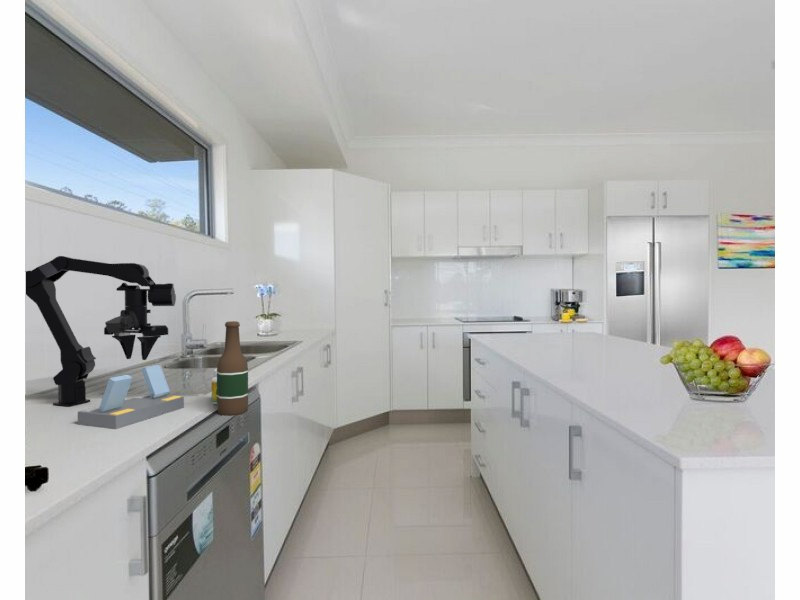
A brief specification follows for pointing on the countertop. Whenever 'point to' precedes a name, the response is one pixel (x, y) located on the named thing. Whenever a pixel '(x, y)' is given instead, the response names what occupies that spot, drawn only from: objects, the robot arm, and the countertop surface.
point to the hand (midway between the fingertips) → (136, 359)
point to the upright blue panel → (115, 392)
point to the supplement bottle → (214, 388)
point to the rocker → (155, 381)
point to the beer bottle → (232, 375)
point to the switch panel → (130, 411)
